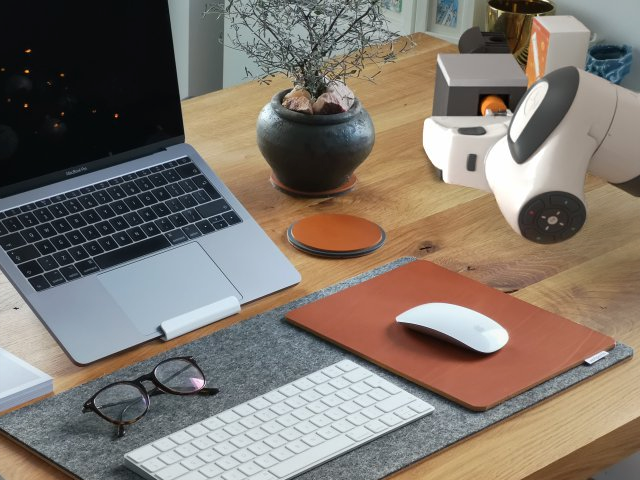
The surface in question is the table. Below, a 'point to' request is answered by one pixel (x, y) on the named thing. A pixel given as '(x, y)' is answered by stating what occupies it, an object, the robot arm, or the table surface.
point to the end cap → (482, 42)
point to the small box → (556, 45)
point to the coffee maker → (475, 84)
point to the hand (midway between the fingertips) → (496, 114)
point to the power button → (491, 103)
